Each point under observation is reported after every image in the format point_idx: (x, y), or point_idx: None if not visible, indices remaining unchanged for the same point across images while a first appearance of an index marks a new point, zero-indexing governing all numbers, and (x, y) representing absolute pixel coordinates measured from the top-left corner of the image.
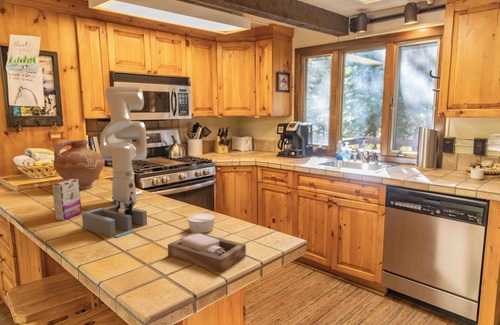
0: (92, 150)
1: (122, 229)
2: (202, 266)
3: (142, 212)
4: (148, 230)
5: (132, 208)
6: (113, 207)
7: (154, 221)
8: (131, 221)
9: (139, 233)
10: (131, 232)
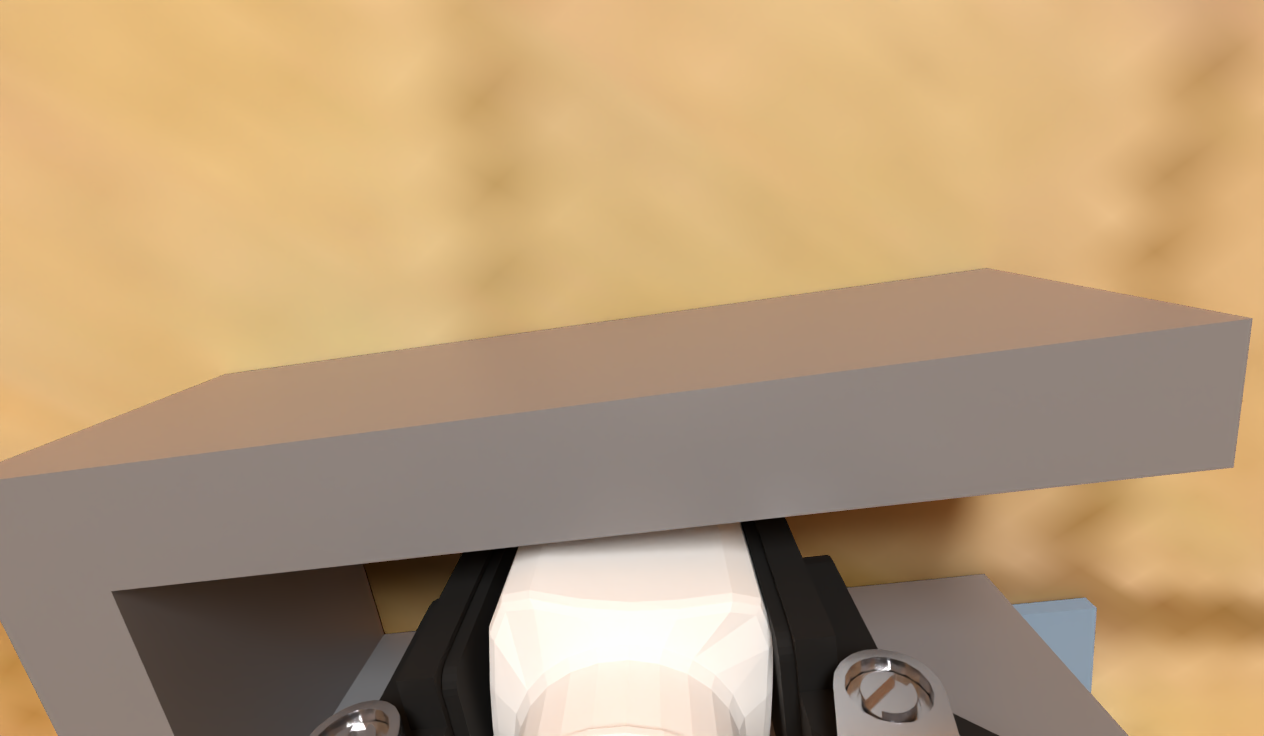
0: None
1: None
2: None
3: (1205, 465)
4: (1247, 427)
5: (629, 457)
6: (163, 709)
7: (962, 43)
8: (1085, 692)
9: (1210, 585)
10: (1086, 646)
